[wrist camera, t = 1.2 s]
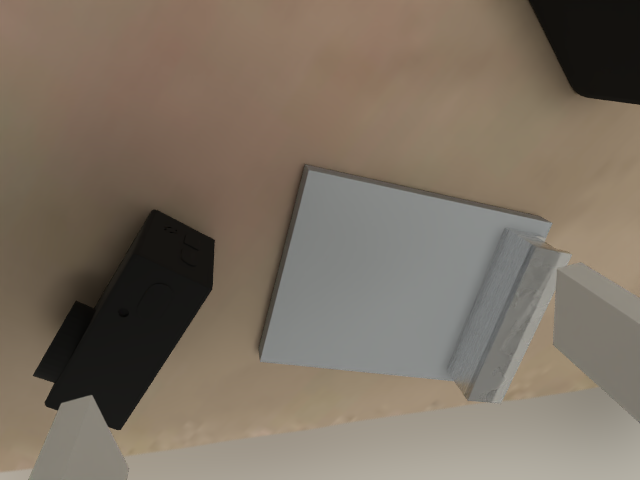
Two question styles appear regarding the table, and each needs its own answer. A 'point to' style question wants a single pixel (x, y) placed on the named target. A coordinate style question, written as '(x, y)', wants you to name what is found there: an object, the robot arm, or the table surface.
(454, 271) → the mounting plate
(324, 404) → the table surface
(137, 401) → the digital camera
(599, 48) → the electronic device
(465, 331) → the rail
